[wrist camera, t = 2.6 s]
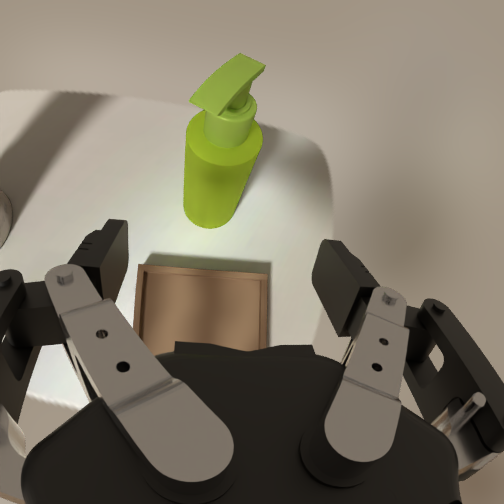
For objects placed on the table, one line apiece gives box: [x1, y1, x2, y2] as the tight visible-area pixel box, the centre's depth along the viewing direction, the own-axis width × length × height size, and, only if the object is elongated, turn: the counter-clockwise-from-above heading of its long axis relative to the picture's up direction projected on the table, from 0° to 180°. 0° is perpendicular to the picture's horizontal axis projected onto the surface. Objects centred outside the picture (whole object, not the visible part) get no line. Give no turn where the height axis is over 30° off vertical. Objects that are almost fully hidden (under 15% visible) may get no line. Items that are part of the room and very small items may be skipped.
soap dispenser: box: [183, 53, 266, 229], centre depth 25 cm, size 6×7×20 cm
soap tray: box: [133, 264, 267, 356], centre depth 29 cm, size 13×11×2 cm
